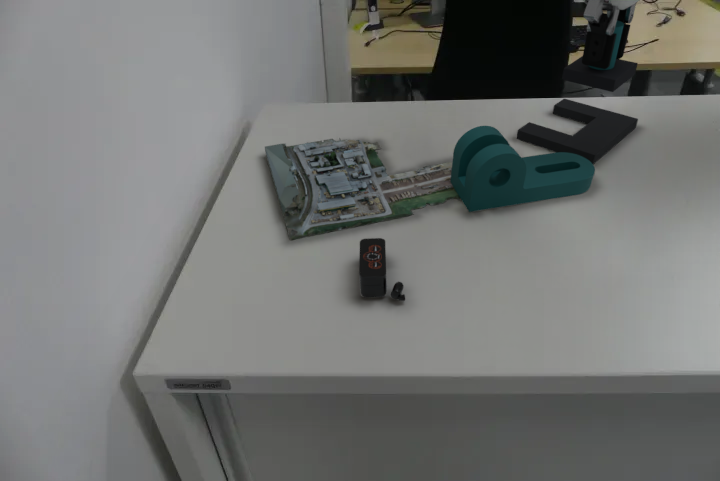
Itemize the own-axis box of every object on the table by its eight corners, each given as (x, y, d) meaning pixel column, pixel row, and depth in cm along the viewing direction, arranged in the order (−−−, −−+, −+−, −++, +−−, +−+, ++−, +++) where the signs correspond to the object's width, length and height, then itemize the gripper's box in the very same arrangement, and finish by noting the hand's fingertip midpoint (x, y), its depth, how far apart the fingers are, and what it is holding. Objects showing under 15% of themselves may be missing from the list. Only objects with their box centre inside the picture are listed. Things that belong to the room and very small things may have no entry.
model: (517, 193, 73) (519, 182, 72) (290, 240, 67) (288, 229, 66) (453, 123, 89) (454, 113, 88) (266, 156, 84) (264, 146, 83)
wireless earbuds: (360, 305, 58) (358, 282, 56) (361, 261, 64) (359, 238, 62) (405, 304, 58) (405, 281, 56) (402, 259, 63) (402, 237, 61)
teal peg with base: (585, 63, 73) (595, 11, 68) (635, 74, 69) (648, 20, 65) (561, 79, 69) (571, 26, 65) (612, 92, 65) (626, 36, 61)
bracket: (469, 212, 69) (476, 157, 64) (450, 181, 74) (455, 129, 69) (600, 191, 72) (617, 137, 67) (574, 163, 77) (588, 111, 72)
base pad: (562, 106, 92) (564, 98, 91) (635, 127, 85) (638, 118, 84) (516, 138, 84) (517, 129, 83) (592, 164, 77) (594, 155, 76)
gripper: (646, -105, 50) (602, 91, 61) (708, -128, 59) (659, 47, 70) (567, -109, 54) (539, 76, 65) (635, -129, 63) (601, 36, 74)
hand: (602, 59), depth 68 cm, fingers closed on teal peg with base, 3 cm apart
